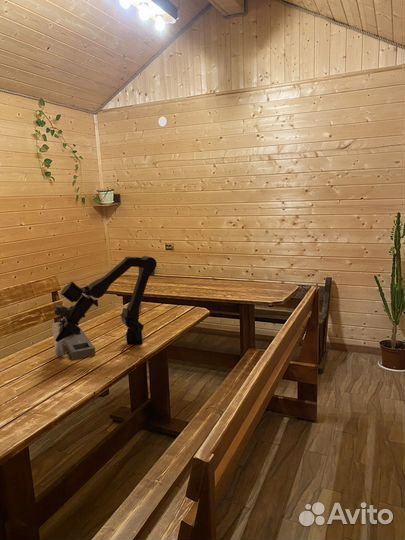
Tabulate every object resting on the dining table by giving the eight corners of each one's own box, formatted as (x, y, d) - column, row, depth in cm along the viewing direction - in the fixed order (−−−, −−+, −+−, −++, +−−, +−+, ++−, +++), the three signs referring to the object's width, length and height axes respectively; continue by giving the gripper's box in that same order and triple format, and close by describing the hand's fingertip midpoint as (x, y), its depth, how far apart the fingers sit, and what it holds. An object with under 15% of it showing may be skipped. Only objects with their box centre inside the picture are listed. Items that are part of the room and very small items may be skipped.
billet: (67, 351, 162) (63, 321, 159) (64, 355, 158) (60, 325, 155) (57, 352, 162) (53, 322, 159) (54, 356, 158) (50, 325, 155)
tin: (132, 318, 208) (131, 303, 207) (127, 318, 209) (125, 303, 207) (142, 310, 223) (141, 296, 221) (137, 310, 223) (136, 296, 222)
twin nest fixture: (81, 334, 186) (81, 328, 185) (95, 354, 162) (94, 347, 161) (61, 338, 182) (61, 332, 181) (73, 359, 157) (72, 352, 157)
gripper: (61, 292, 165) (36, 322, 162) (68, 302, 149) (41, 335, 146) (81, 307, 170) (58, 336, 167) (91, 318, 154) (65, 351, 151)
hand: (55, 339), depth 158 cm, fingers closed on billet, 4 cm apart
